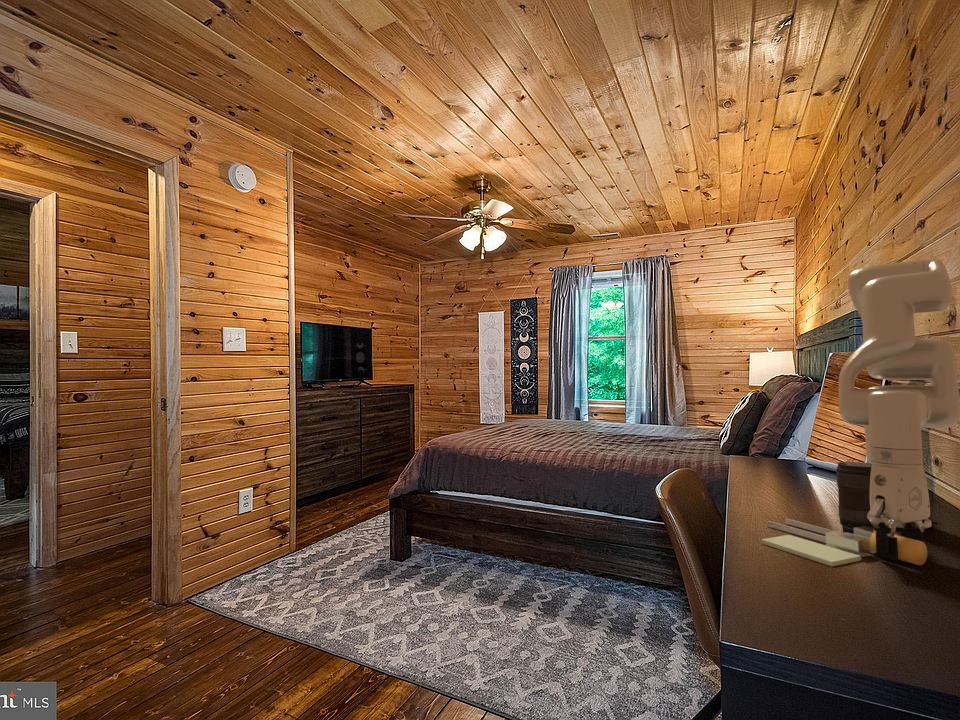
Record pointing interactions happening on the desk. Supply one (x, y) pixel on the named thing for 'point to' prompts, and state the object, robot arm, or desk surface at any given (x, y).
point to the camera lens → (853, 494)
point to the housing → (832, 536)
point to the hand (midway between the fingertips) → (900, 554)
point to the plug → (905, 549)
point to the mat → (811, 550)
